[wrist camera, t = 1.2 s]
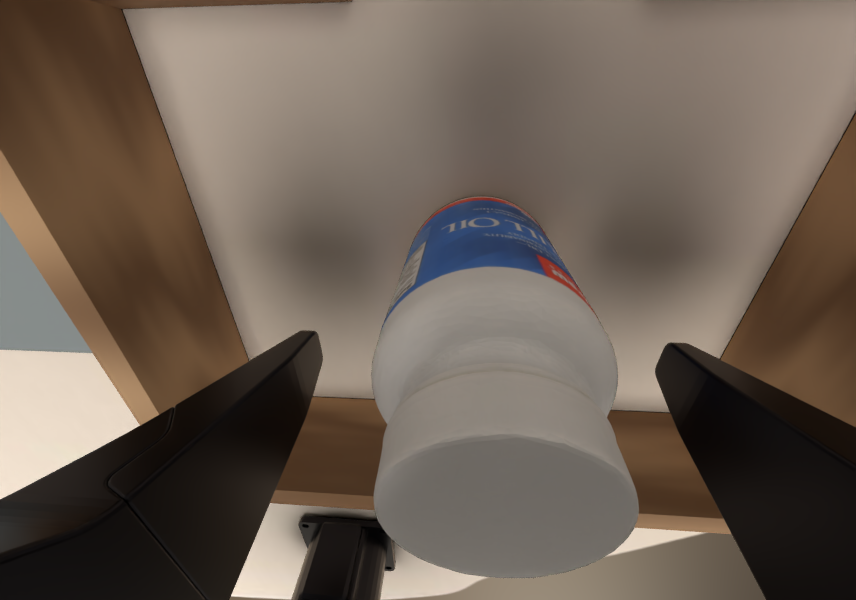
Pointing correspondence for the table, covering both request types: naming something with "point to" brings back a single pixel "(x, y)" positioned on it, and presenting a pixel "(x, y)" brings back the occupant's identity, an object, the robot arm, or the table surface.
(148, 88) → the walnut box
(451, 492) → the pill bottle
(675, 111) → the table surface
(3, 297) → the slate mat
